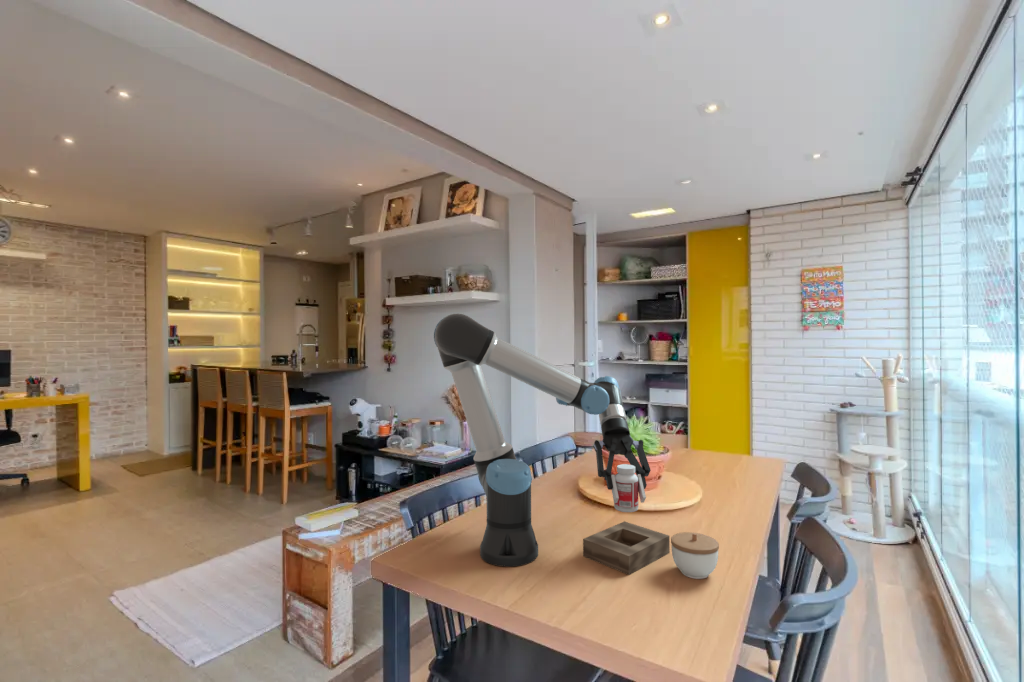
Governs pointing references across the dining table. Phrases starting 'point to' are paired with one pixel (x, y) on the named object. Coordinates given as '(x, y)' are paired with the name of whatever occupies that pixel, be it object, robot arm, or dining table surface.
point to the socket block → (626, 547)
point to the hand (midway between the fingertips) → (629, 500)
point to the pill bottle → (626, 488)
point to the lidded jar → (694, 554)
